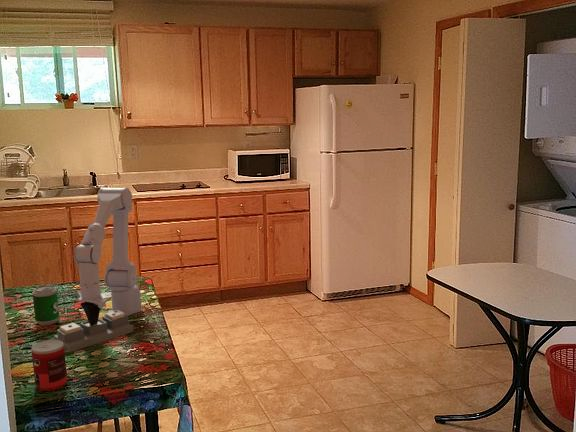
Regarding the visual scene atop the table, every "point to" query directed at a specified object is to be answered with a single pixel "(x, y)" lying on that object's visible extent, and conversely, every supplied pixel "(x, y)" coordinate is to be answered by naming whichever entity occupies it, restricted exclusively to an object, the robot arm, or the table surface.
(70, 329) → the one pip button
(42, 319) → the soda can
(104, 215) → the robot arm
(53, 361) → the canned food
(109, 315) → the two pip button
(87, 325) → the three pip button
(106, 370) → the table surface
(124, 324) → the button panel
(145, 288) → the table surface
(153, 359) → the table surface
